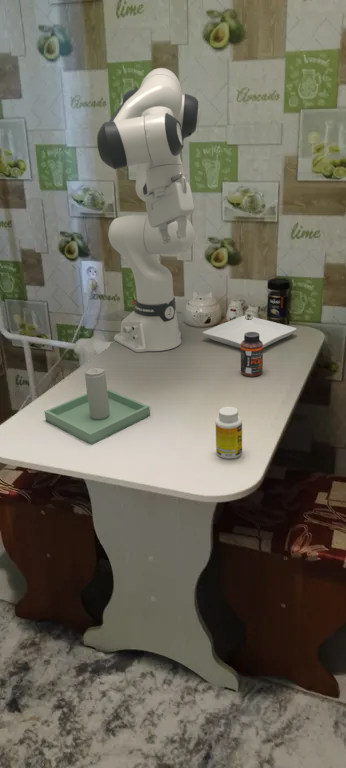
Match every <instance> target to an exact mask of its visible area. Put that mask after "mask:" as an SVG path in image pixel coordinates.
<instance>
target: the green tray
mask: <svg viewBox="0 0 346 768" xmlns="http://www.w3.org/2000/svg"><path fill="white" fill-rule="evenodd" d="M107 392H108V402H109V411H110V414H109V416H108V417H107V418H105V419H102V420H96V419H93V418H92V417H91V416H90V411H89V404H88V396H87V392H86V393H84V394H82V395H79V396H77V397H75V398H72V399H69V400H67V401H65V402H63V403H61V404H58V405H56V406H54V407H51V408H49V409H47V410H44V417H45V422H47V423H49V424H51V425H53V426H55V427H57V428H59V429H61V430H62V431H65V432H67V433H68V434H71V435H72V436H75V437H77V438H78V439H80V440H82V441H84V442H86V443H88V444H90V445H94V444H95V443H98V442H100V441H102V440H104V439H106V438H109V437H110V436H112V435H115V434H116V433H119V432H120V431H123V430H125V429H126V428H129V427H130V426H133V425H134V424H135V425H136V424H137V423H139V422H140V421H143V420H144V419H147V418H149V417H151V406H149V405H148V404H146V403H143V402H140V401H138V400H135V399H134V398H131V397H128V396H126V395H124V394H121V393H119V392H117V391H115V390H112V389H109V388H107Z"/></svg>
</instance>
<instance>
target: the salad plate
mask: <svg viewBox="0 0 346 768" xmlns="http://www.w3.org/2000/svg"><path fill="white" fill-rule="evenodd" d="M245 316H246V315H241V316H239V317H235V318H234V319H231V320H229V321H226V322H223V323H221V324H219V325H217V326H213V327H212V328H209V329H207V330H204V331H202V334H203V336H205V337H206V338H208V339H210V340H213V341H215V342H219V343H221V344H223V345H228V346H231V347H234V348H237V349H240V350H241V342H242V341H243V340H244V334H245V333H247V332H257V333H259V340H260V341H262V343H263V349H264V348H266V347H268V346H271V345H272V344H274V343H276V342H278V341H280V340H281V341H282V340H283V339H284V338H288V337H289V336H291V335H292V334H294V333H295V332H296V331H297V327H294V326H290V325H286V324H282V323H278V322H274V321H271V320H267V319H263V318H259V317H255V316H252V317H253V319H252V320H246V319H245Z"/></svg>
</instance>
